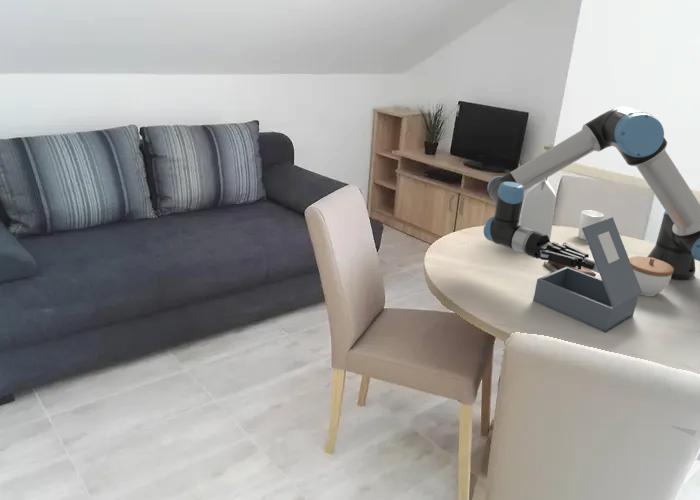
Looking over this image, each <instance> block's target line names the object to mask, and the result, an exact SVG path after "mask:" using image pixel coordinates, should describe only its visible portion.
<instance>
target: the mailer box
mask: <svg viewBox="0 0 700 500" xmlns="http://www.w3.org/2000/svg"><path fill="white" fill-rule="evenodd" d="M534 290H535V291H534V294H533V299H532V301H533V302H535V303H537V304H539V305H542V306H543V307H547V308H548V309H551V310H553V311H555V312H558V313H561V315H565V316H567V317H570V318H572V319H574V320H576V321H578V322H581V323H583V324H585V325H587V326H590V327H592V328H595V329H597V330H599V331H601V332H603V333H608V332H609V331H610V330H613V329H614V328H616V327H617V326H619V325H620V324H622V323H623V322H625V321H627V320H629V319H631V318H632V317H633V316H634V314H635V310H636V306H637V304H638V299H639V296H640V294H638V295H636V296H634V297H632V298H631V299H629V300H627V301H625V302H623V303H622V304H620V305H618V306H616V307H614V308H613V307H612V305H611V302H610V300H609V297H608V295H607V292H606V289H605V287H604V284H603V282H602V279H601V278H598V277H596V276H595V277H593V276H590V275H588V274H585V273H582V272H580V271H577V270H574V269H572V268H569V267H564V268H562V269H560V270H557V271H555V272H550V273H548V274H546V275H543V276H541V277H539V278H537V280H536V284H535V289H534Z"/></svg>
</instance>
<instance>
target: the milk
mask: <svg viewBox="0 0 700 500" xmlns="http://www.w3.org/2000/svg"><path fill="white" fill-rule="evenodd" d="M556 203H557V195H556V192H555V190H554V188H553V187H552V185H551V184H550V182H549V181H547V178H546V179H544V180H542V181H540V182H539V183H537V184H535V185H533V186H532V187H530V188H528V189H526V190H525V191H524V199H523V203H522V208H521V213H520V218H519V224H518V225H520V226H523V227H526V228H529V229H532V230H535V231H537V232H540V233H543V234H546V235H547V236H548V237H549V240H550V241H551V236H552V230H553V229H552V228H553V222H554V215H555V209H556Z"/></svg>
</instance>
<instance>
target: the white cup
mask: <svg viewBox="0 0 700 500" xmlns="http://www.w3.org/2000/svg"><path fill="white" fill-rule="evenodd" d="M603 218H604V214H603V213H602V212H600V211H596V210H591V209H590V210H589V209H587V210H586V209H585V210H581V214H580V218H579V226H578V234H577V237H578V239H581V240H584V241H587V240H586V237H585V235H584V232H583V230H582V228H584V227H587V226H589V225H592V224H595V223H598V222H601V221H603V220H604V219H603Z"/></svg>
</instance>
